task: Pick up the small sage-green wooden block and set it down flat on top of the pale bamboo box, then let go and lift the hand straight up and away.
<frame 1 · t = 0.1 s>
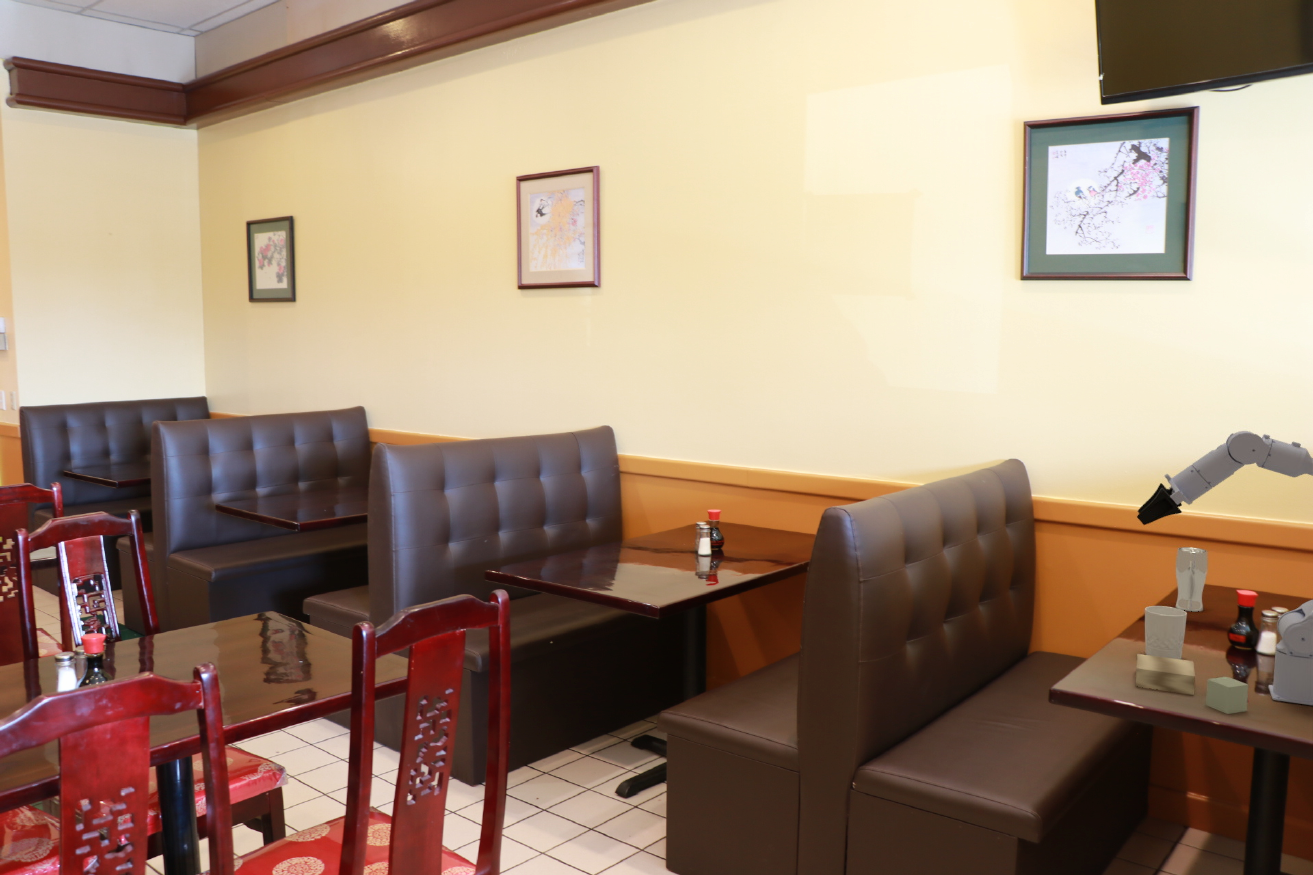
hand: (1140, 518, 196), 32 cm above the table, tool tilted 50°, fingers open, 7 cm apart
white cup: (1163, 657, 211), on the table
sage block: (1226, 708, 181), on the table
bamboo box: (1164, 684, 195), on the table
beer glass: (1189, 609, 249), on the table
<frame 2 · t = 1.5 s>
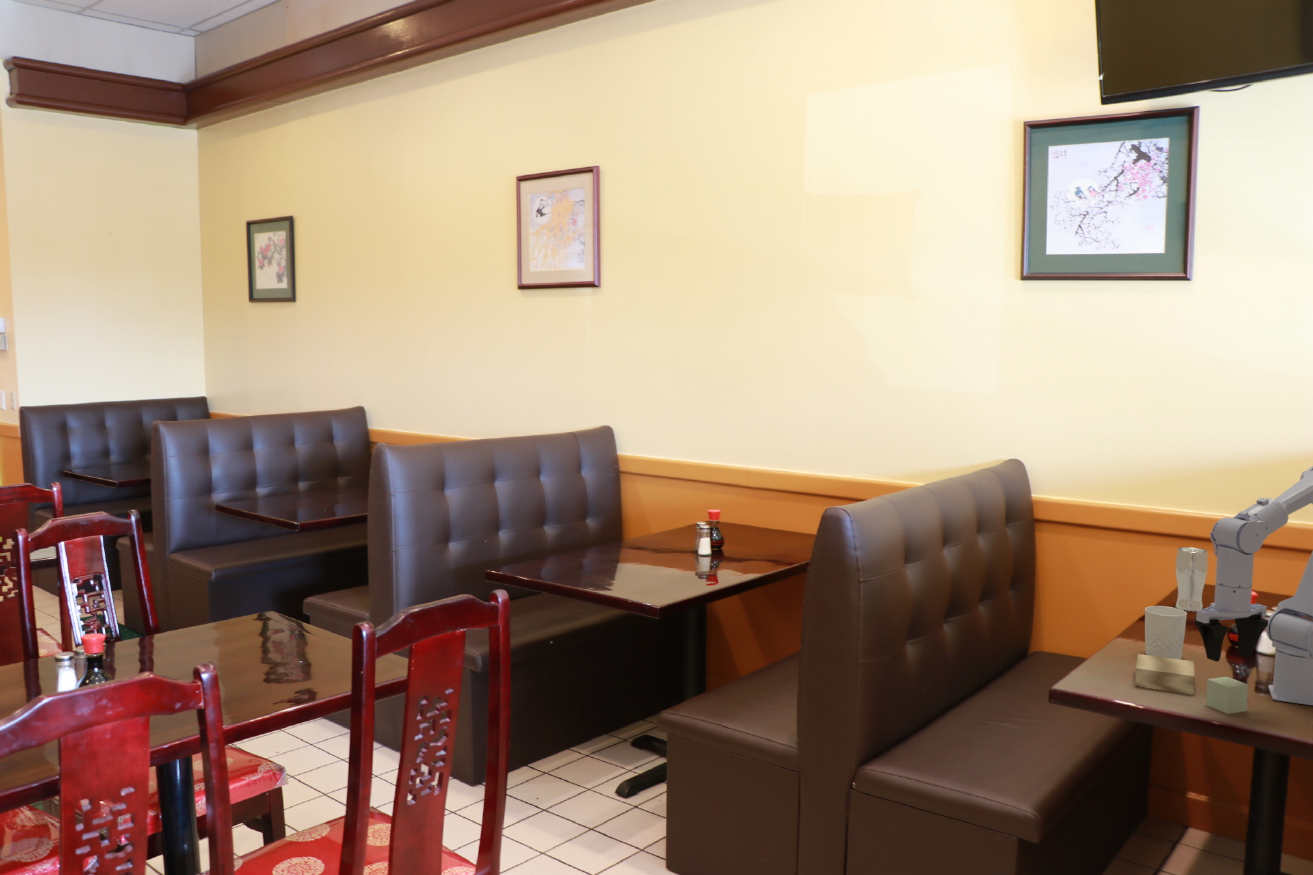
hand: (1229, 657, 180), 9 cm above the table, tool pointing down, fingers open, 7 cm apart
nothing on the table moved.
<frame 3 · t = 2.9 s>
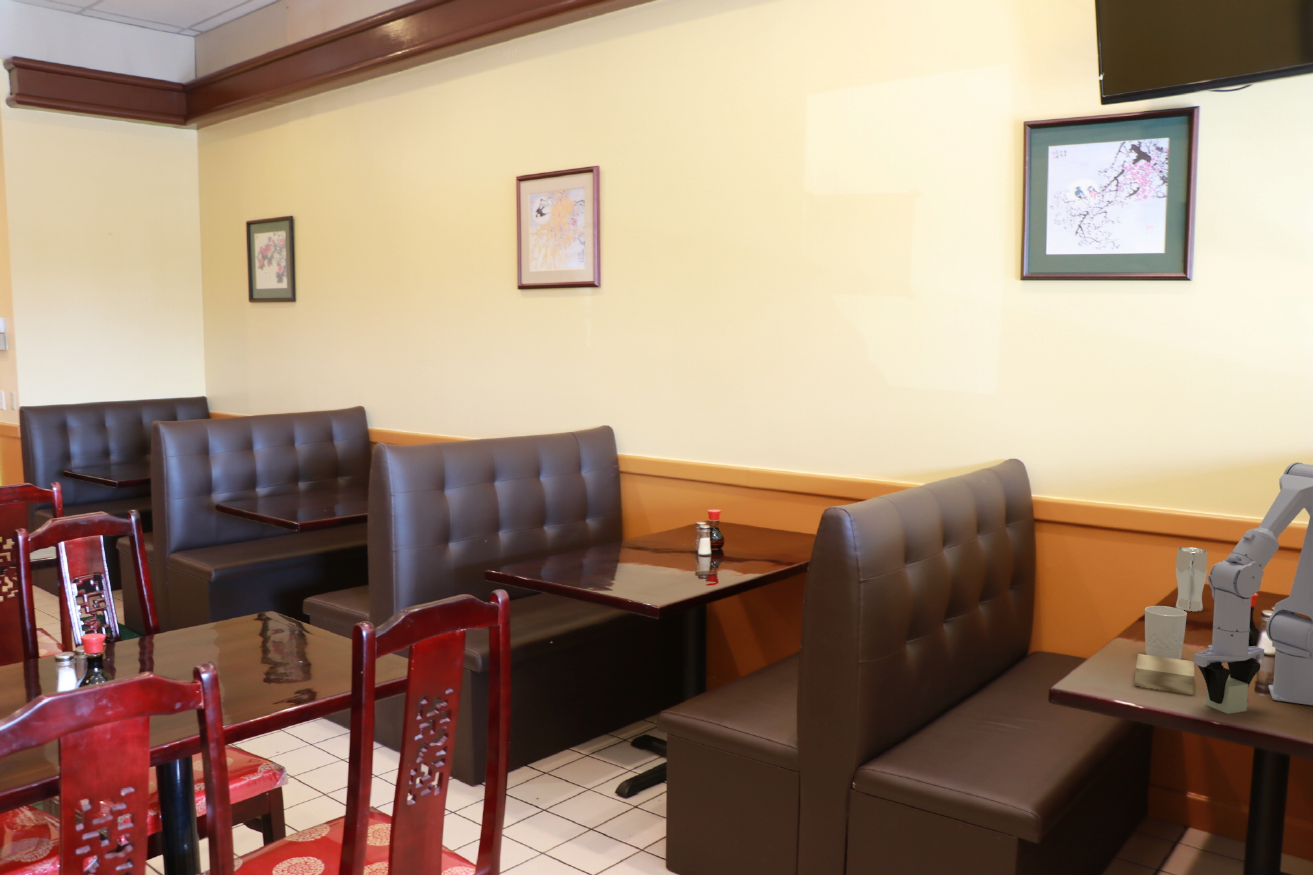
hand: (1226, 700, 181), 1 cm above the table, tool pointing down, fingers closed on sage block, 5 cm apart
sage block: (1226, 707, 181), on the table, touching gripper
everything else where it was.
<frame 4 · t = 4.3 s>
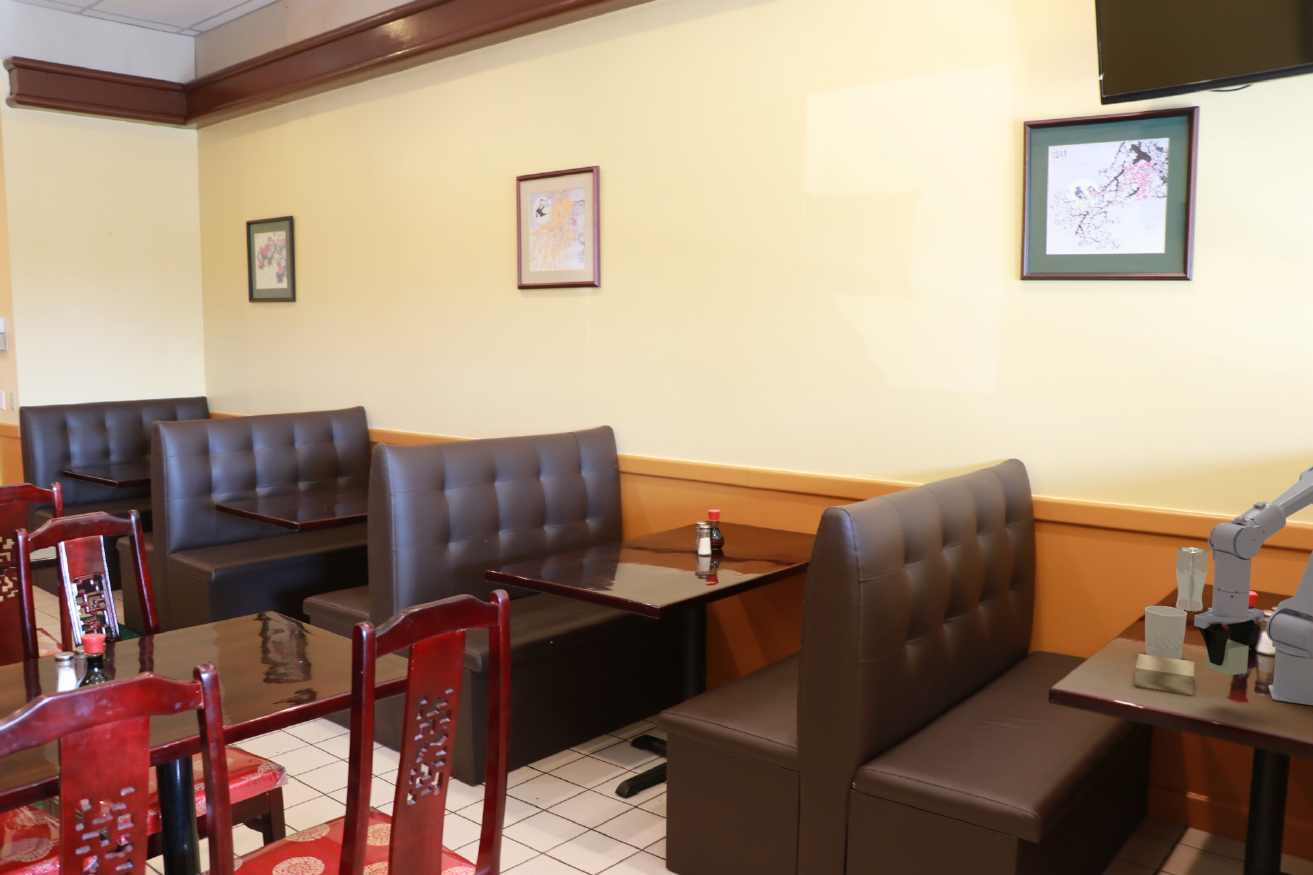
hand: (1226, 662, 181), 8 cm above the table, tool pointing down, fingers closed on sage block, 5 cm apart
sage block: (1226, 670, 181), point 7 cm above the table, touching gripper
everything else where it was.
when the fingers open (6 cm above the table, at t = 6.0 s): sage block drops 1 cm, point 4 cm above the table.
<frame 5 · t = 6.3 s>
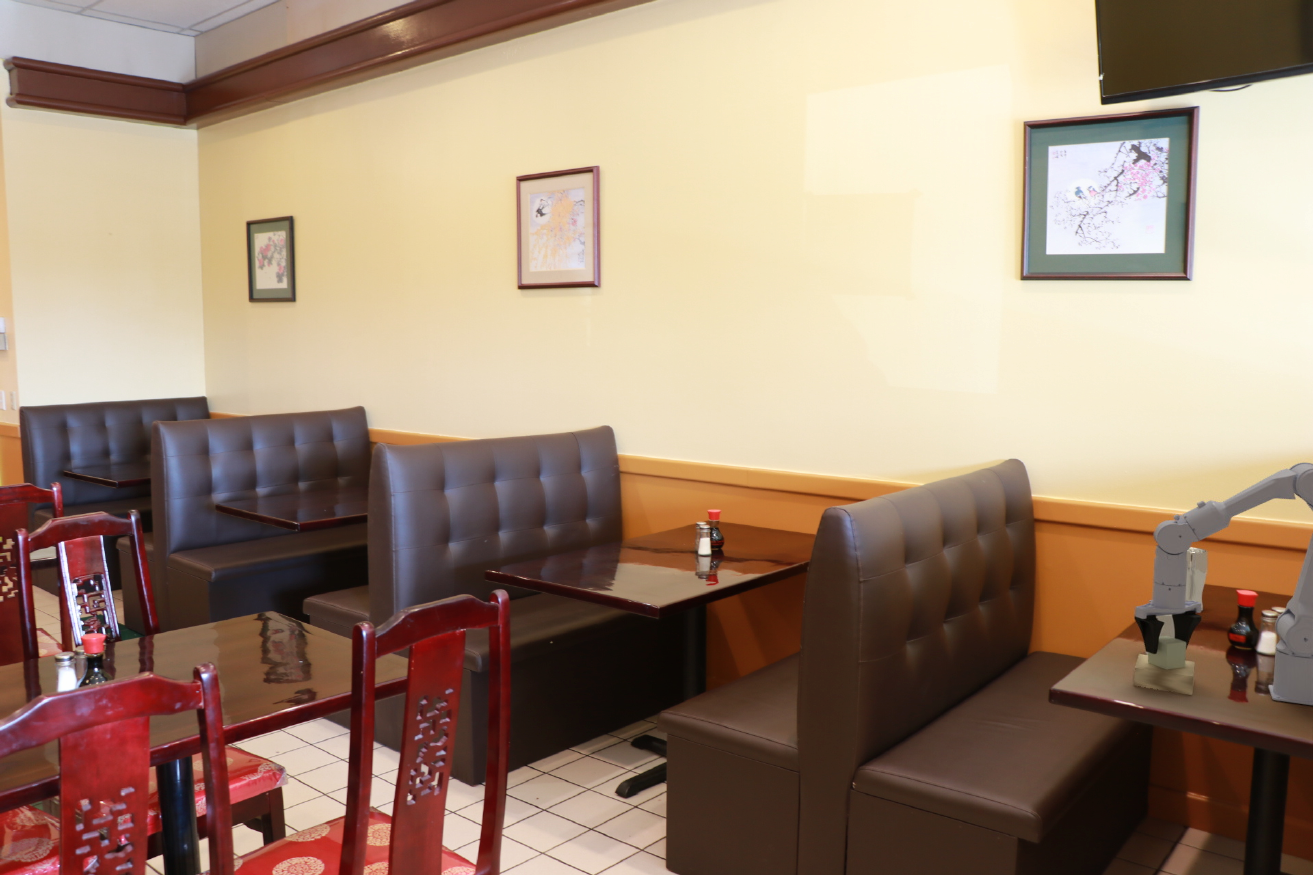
hand: (1166, 650, 194), 6 cm above the table, tool pointing down, fingers open, 7 cm apart
sage block: (1166, 664, 194), point 4 cm above the table
everything else where it was.
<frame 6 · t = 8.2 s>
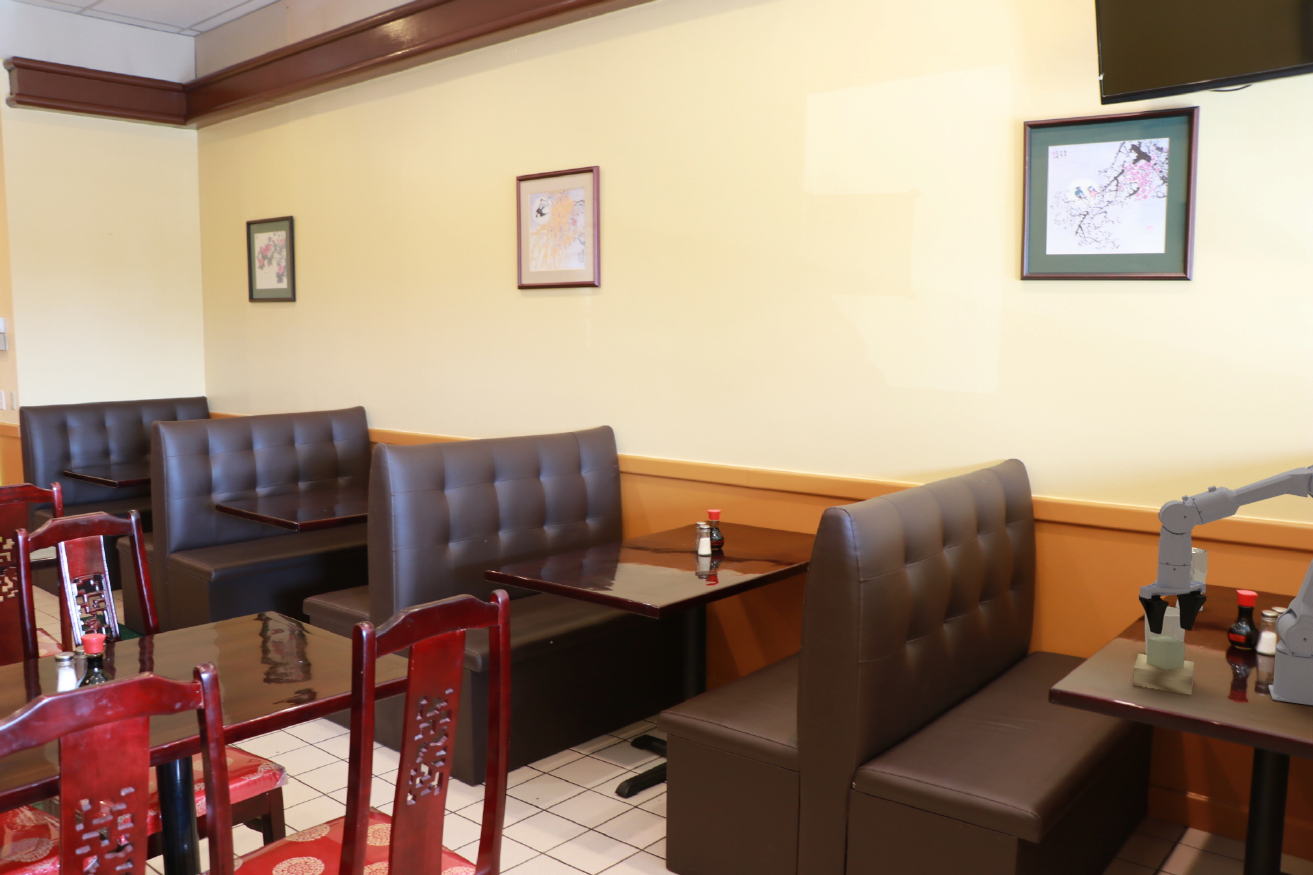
hand: (1170, 631, 194), 10 cm above the table, tool pointing down, fingers open, 7 cm apart
sage block: (1164, 665, 194), point 4 cm above the table, touching bamboo box
bamboo box: (1163, 684, 195), on the table, touching sage block
everything else where it was.
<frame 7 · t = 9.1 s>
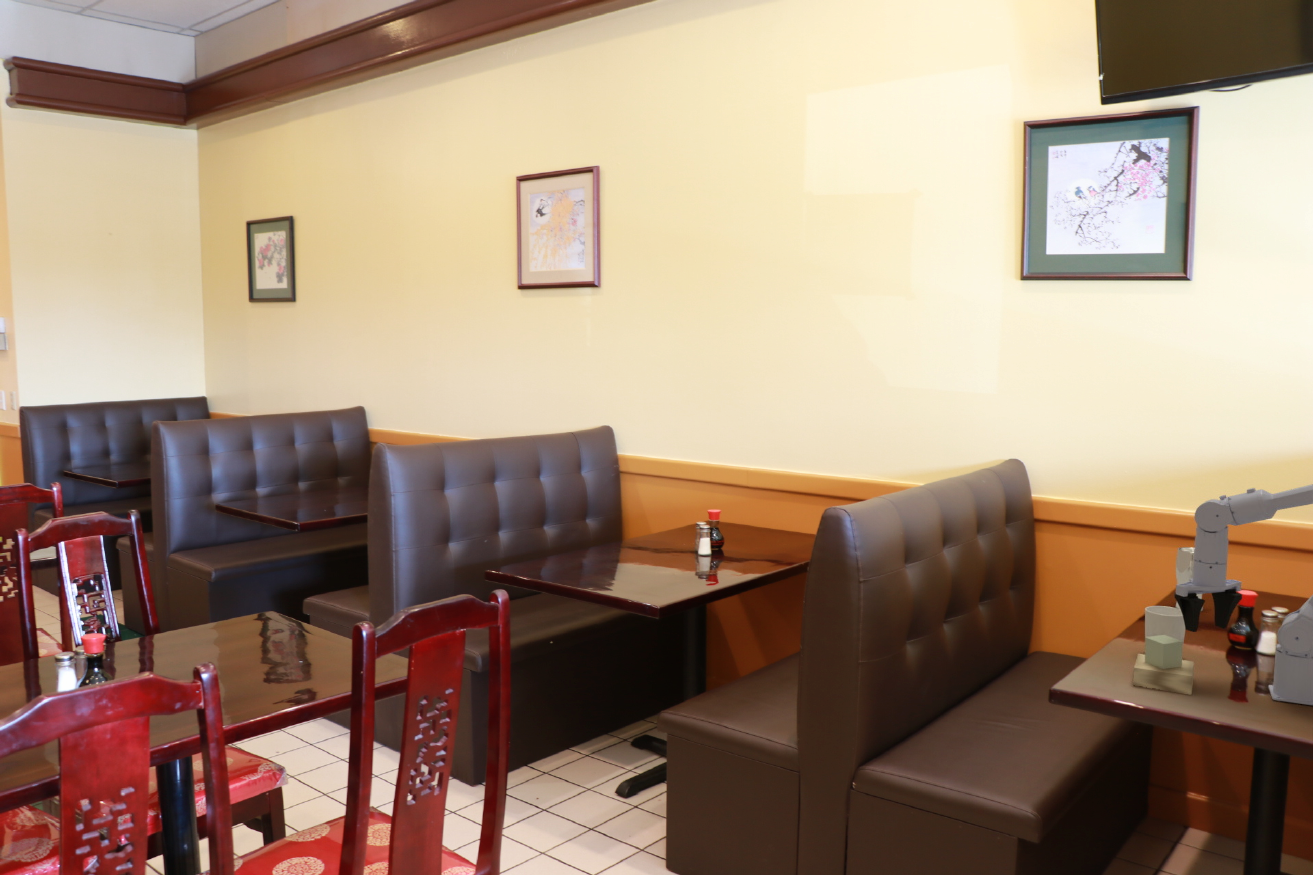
hand: (1206, 628, 195), 10 cm above the table, tool pointing down, fingers open, 7 cm apart
sage block: (1163, 664, 194), point 4 cm above the table
bamboo box: (1163, 684, 195), on the table
everything else where it was.
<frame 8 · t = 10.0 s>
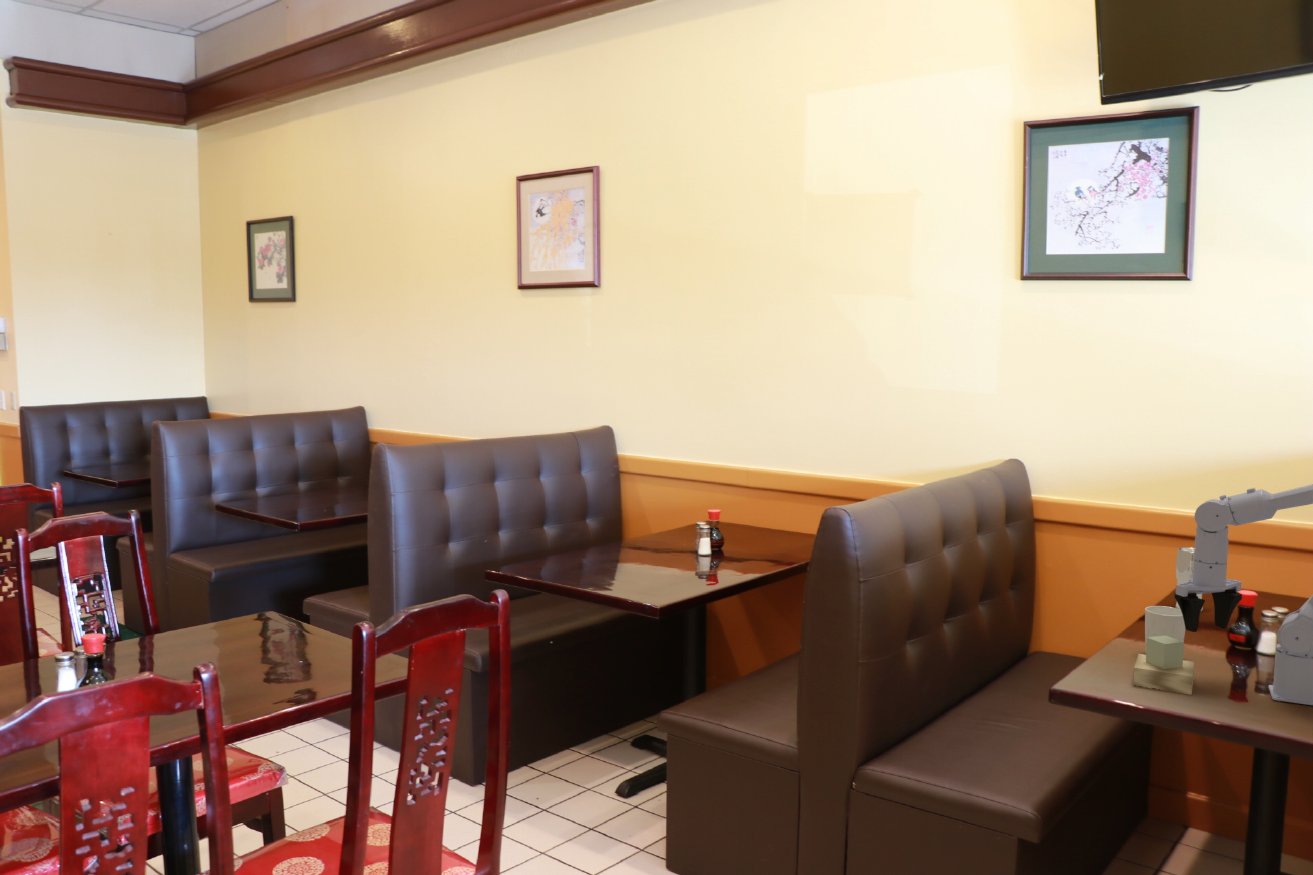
hand: (1206, 628, 195), 10 cm above the table, tool pointing down, fingers open, 7 cm apart
sage block: (1163, 664, 194), point 4 cm above the table, touching bamboo box
bamboo box: (1163, 684, 195), on the table, touching sage block
everything else where it was.
at the end: sage block inside the target area on the bamboo box (0.1 cm from its centre), point 4.0 cm above the bamboo box's base; sage block tilted 0°; sage block touching bamboo box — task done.
